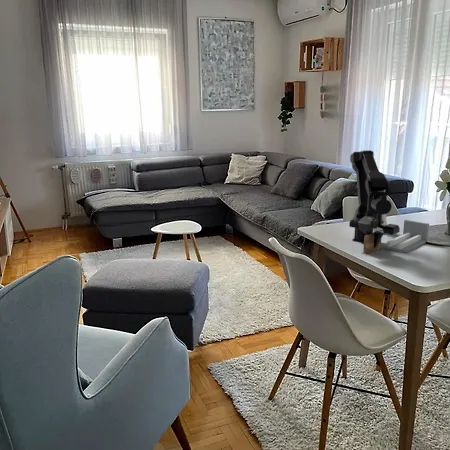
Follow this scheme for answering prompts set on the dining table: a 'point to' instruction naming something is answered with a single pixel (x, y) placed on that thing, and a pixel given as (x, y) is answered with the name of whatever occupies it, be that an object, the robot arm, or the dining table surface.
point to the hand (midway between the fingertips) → (372, 246)
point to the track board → (409, 237)
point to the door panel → (370, 243)
